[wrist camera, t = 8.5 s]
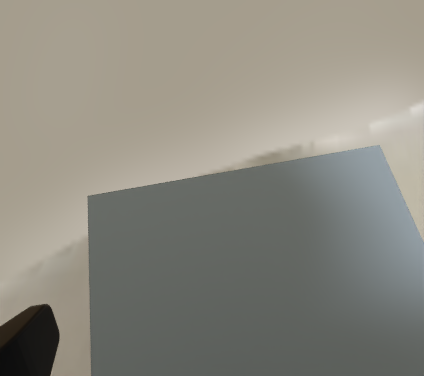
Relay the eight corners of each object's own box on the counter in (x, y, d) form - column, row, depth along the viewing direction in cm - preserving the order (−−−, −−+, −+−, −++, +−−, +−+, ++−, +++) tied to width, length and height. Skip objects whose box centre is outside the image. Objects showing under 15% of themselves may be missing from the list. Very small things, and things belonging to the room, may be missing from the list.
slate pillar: (301, 382, 14) (553, 530, 3) (198, 403, 14) (97, 632, 3) (275, 276, 16) (379, 144, 5) (183, 293, 16) (87, 196, 5)
